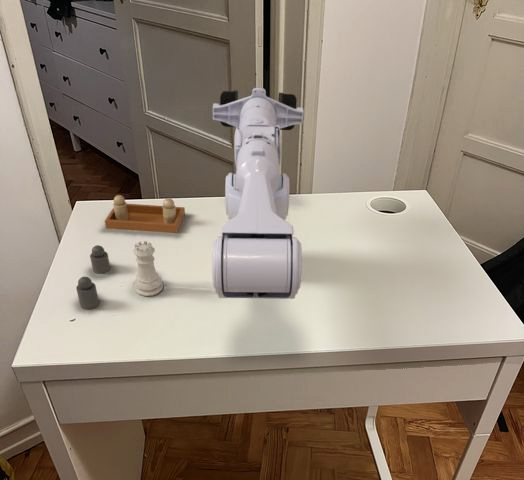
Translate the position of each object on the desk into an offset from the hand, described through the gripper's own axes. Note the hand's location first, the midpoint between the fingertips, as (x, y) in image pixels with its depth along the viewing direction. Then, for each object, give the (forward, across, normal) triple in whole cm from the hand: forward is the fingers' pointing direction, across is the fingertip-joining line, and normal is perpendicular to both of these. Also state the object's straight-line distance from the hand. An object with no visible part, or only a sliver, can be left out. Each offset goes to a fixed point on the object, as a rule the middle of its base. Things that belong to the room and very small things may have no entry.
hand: (258, 97), depth 97 cm
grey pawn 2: (-23, +25, +22) cm, 40 cm away
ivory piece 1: (-6, +25, +21) cm, 33 cm away
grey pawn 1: (-32, +25, +22) cm, 46 cm away
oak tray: (-6, +20, +22) cm, 30 cm away
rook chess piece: (-28, +16, +22) cm, 39 cm away
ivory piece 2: (-7, +15, +21) cm, 27 cm away
